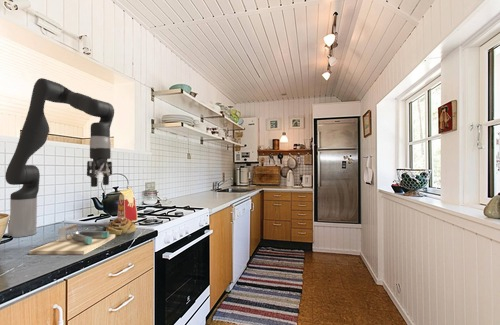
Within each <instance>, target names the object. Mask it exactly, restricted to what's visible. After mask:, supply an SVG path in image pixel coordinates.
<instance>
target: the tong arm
mask: <svg viewBox="0 0 500 325" xmlns="http://www.w3.org/2000/svg"><path fill="white" fill-rule="evenodd" d="M73 240H76V241H79V242H83V243H85V244H91V243H92V237H89V236H85V235H81V234H80V233H79V234H77V233H75V234H73Z"/></svg>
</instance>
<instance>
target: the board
mask: <svg viewBox="0 0 500 325" xmlns="http://www.w3.org/2000/svg"><path fill="white" fill-rule="evenodd" d="M114 239H116V236H115V234H109V237H108V238H92V243H91V244H85V243H83V242H79V241H76V240H72V236H70V234H69V235H68V234H67V240H66V241H58V239H56V240H53V241H51V242H48V243H45V244H43V245H41V246H38V247H36V248H34V249H30V250H29V251H28V252H29V253H28V254H29V255H66V256H67V255H86V254H88V253H90V252H92V251H93V250H95V249H97V248H100V247H101V246H103V245H105V244H106V243H108V242H111V240H114Z"/></svg>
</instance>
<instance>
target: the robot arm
mask: <svg viewBox="0 0 500 325" xmlns="http://www.w3.org/2000/svg"><path fill="white" fill-rule="evenodd" d="M30 98H31V99H30V103H29V108H28V112H27V115H26V117H25V119H24V120H25V121H24V123H23V126H22V128H21V132H20V136H19V138H18V143H17V145H16V148H15V150H14V154H12V158H11V159H10V162H9V163H8V166H7V168H6V171H5V181H6V183H7V184H9V185H12V186H15V185H16V186H18V185H19V186H20V185H22V187H21V188H20V189H18V190H16V191H14V192H11V193H10V198H9V200H10V201H9V203H10V205H9V206H10V212H9V215H10V220H9V223H8V222H7V236H8V235H9V236H8V237H10V236H12V237H11V238H22V237H28V236H33V235H35V234H36V233H37V223H38V222H37V220H38V219H37V218H38V216H37V214H38V212H37V211H38V210H37V209H38V208H37V207H38V194H39V189H40V177H41V176H40V170H39V168H38V166H36V165H34V164H29V165H28V164H27V163H28V161H29V159H30V158H31V157H32V155H34V154H35V153H36V152H37V151H39V150H40V149H41V148H42V147H43V146H44V145H45V144H46V142H47V139H48V136H49V133H50V125H49V122H48V121H47V117H46V114H45V111H44V110H45V104H46V101H48V102H51V103H58V104H66V105H70V107H72V108H73V109H75V110H79V111H81V112H84V113H85V114H87V115H89V116H92V117H95V118H99V121H97V122H92V123H91V124H90V139H89V158H90V159H91V160H87V162H86V177H89V178H90V187H92V188H96V187H98V186H99V185H98V179H99V178H98V176H99V174H100V173H101V174H102V185H103V186H109V184H110V177H111V176H112V175H113V162H112V161H108V160H109V159H111V154H112V153H111V151H112V150H111V127H112V123H113V120H114V116H115V108H114V106H113V105H112V104H111V103H110V102H106V101H104V100H103V101H102V100H100V99H97V98H93V97H91V96H90V95H89V96H88V95H85V94H83V93H81V92H80V93H79V92H75V91H72V90H71V89H69V88H68V87H66V86H65V85H63V84H61V83H58V82H56V81H53V80H49V79H46V78H43V77H42V78H38V79H37V80H36V81H35V82H34V85H33V88H32V92H31V97H30Z"/></svg>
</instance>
